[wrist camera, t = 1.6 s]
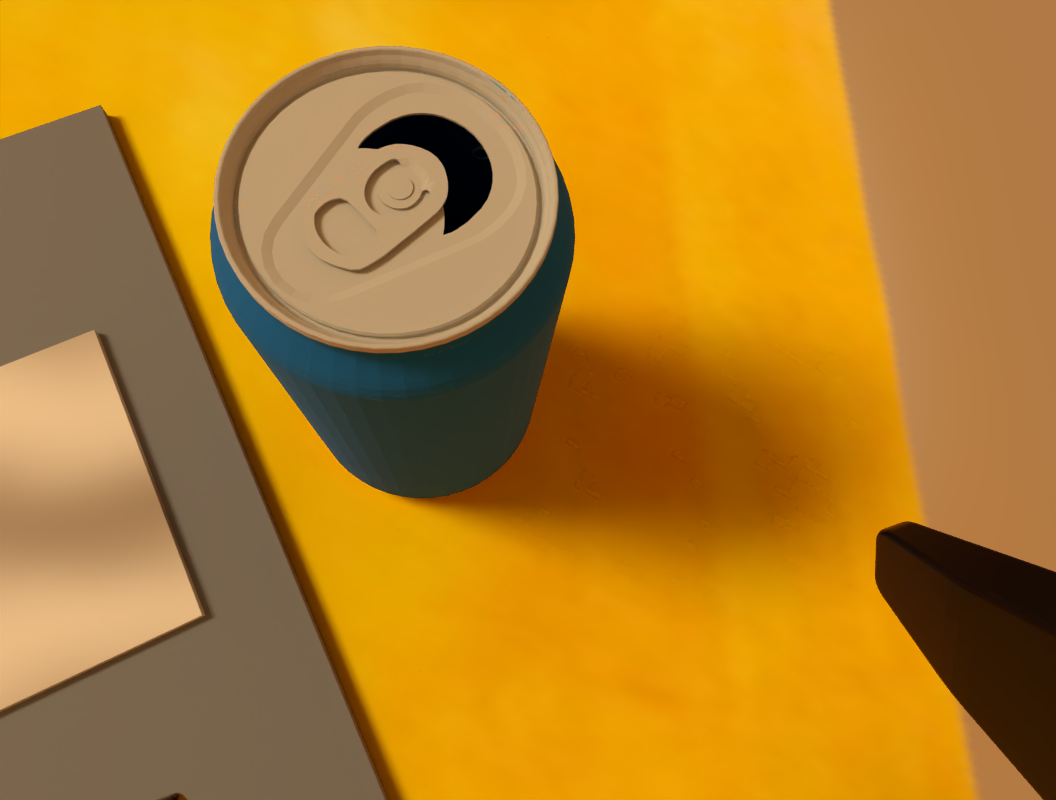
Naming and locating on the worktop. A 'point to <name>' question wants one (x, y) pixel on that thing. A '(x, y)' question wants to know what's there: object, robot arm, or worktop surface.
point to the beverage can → (397, 259)
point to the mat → (137, 523)
